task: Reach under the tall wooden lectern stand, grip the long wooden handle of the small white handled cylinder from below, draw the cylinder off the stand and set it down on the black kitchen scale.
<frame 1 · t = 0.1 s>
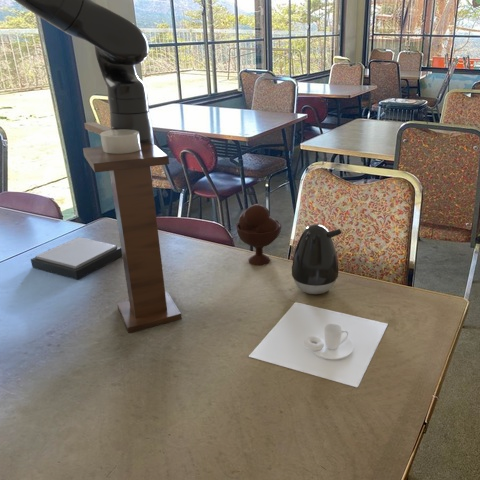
hand: (142, 213, 100), 17 cm above the table, tool pointing down, fingers open, 8 cm apart
ice cream bowl: (259, 261, 119), on the table
teacup and saucer: (322, 340, 89), on the table
pump dispenser: (315, 289, 107), on the table
scale: (79, 261, 115), on the table
white handled cylinder: (122, 149, 86), point 32 cm above the table, touching wooden lectern stand
wooden lectern stand: (143, 303, 99), on the table
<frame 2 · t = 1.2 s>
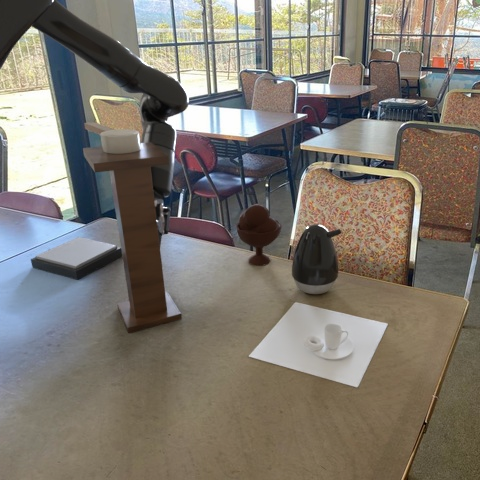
hand: (143, 247, 96), 12 cm above the table, tool tilted 40°, fingers open, 8 cm apart
nothing on the table moved.
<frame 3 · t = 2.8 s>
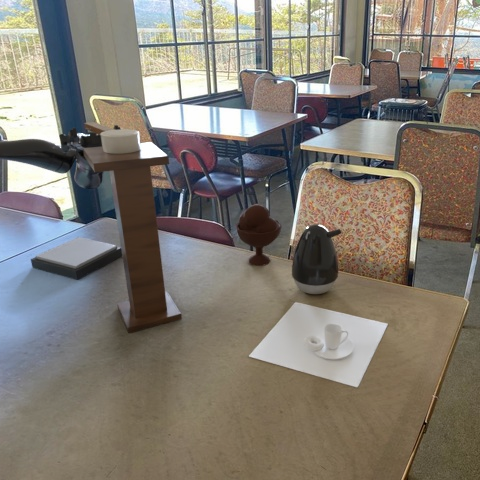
hand: (96, 130, 105), 31 cm above the table, tool pointing upward, fingers open, 8 cm apart
nothing on the table moved.
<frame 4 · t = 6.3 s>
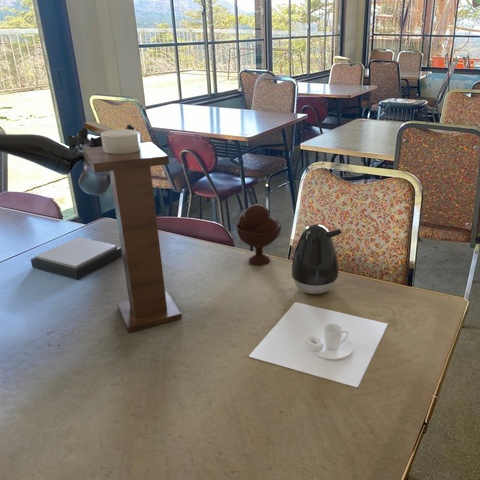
hand: (107, 130, 96), 33 cm above the table, tool pointing upward, fingers open, 8 cm apart
white handled cylinder: (122, 149, 86), point 32 cm above the table, touching gripper, wooden lectern stand
everything else where it was.
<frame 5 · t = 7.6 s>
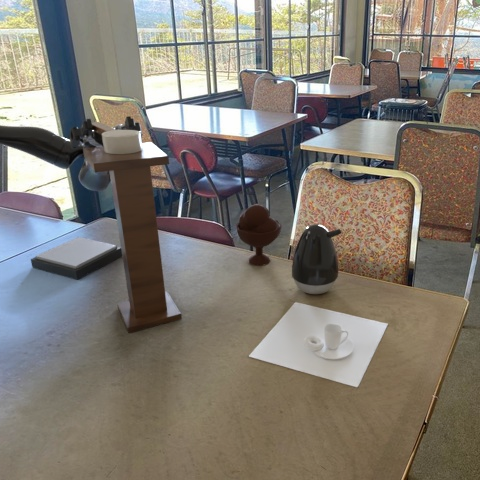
hand: (110, 122, 92), 35 cm above the table, tool pointing upward
white handled cylinder: (123, 150, 86), point 32 cm above the table, touching gripper
everything else where it was.
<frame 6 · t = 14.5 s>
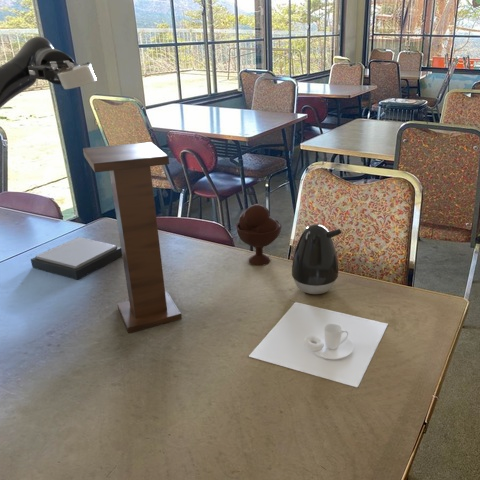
hand: (69, 75, 101), 42 cm above the table, tool horizontal, fingers closed on white handled cylinder
white handled cylinder: (80, 84, 96), point 41 cm above the table, tilted 15°, touching gripper
everything else where it was.
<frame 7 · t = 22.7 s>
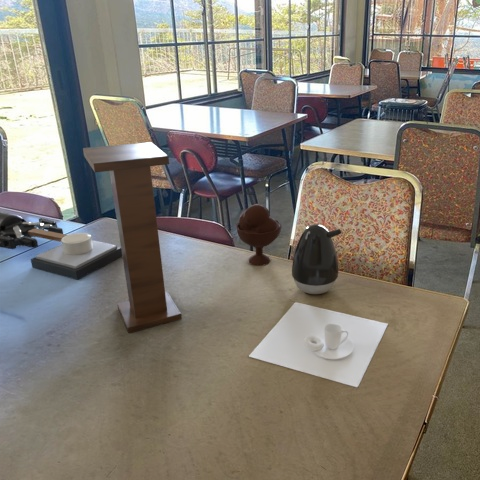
hand: (49, 238, 117), 4 cm above the table, tool horizontal, fingers open, 6 cm apart
white handled cylinder: (78, 249, 115), point 3 cm above the table, touching scale
everything else where it was.
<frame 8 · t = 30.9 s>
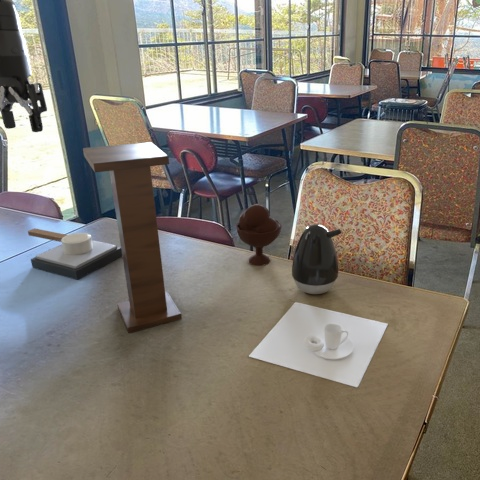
hand: (23, 129, 108), 30 cm above the table, tool pointing down, fingers open, 8 cm apart
nothing on the table moved.
at the end: white handled cylinder inside the target area on the scale (0.6 cm from its centre), point 2.9 cm above the scale's base; the gripper is holding nothing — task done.
